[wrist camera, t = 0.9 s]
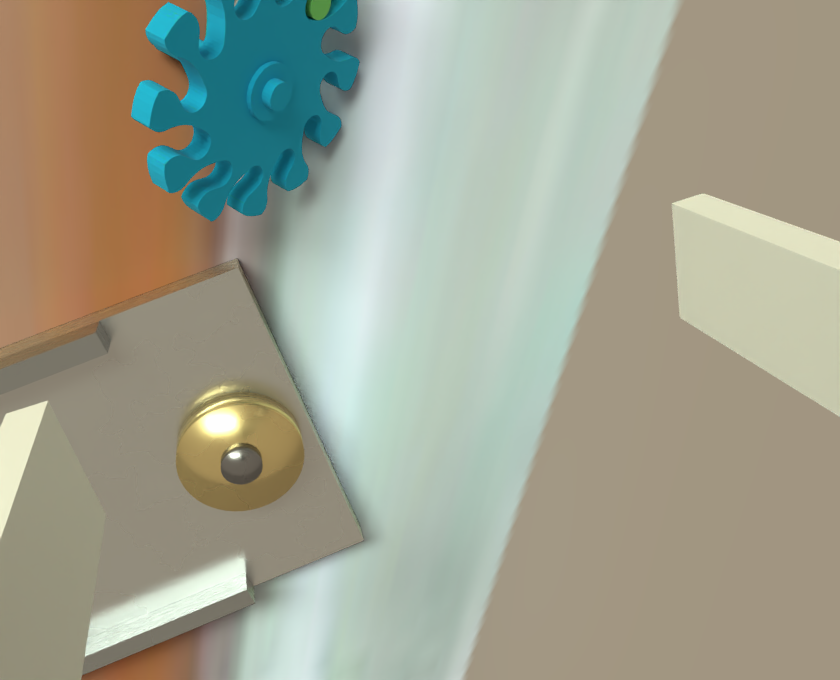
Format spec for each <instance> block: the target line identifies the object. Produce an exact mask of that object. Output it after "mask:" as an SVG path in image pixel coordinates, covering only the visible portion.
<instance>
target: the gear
mask: <svg viewBox="0 0 840 680" xmlns="http://www.w3.org/2000/svg"><path fill="white" fill-rule="evenodd" d="M234 1H235V0H205V2H206V9H207V26H206V36H205V39H204V41H202V40H200V39H199V34H200V29H199V23H198V21H197V19H196V17H195V16H194V15H193V14H192V13H190V12H188V11H186V10H184V9H182V8H180V7H178V6H176V5H174V4H171V3H169V2H168V3H167V4H165V5H164V6H162V8H161V9H160V10H159V11H158V12H157V13H156V14H155V16H154V17H153V18H152V20H151V22H150V23H149V25H148V26H147V28H146V30H145V31H146V36H147V38H148V40H149V41H150V42H151V43H152V44H153V45H154V46H155V47H156V48H157V49H158V50H160V51H162V52H163V53H165V54H167V55H169V56H171V57H173V58H175V59H177V60H179V61H180V62H181V64H182V66H183V68H184V70H185V72H186V74H187V77H188V79H189V89H188V92H187V94H186V96H185V97H184V99H182V100H181V101H180V100H179V98H178V97H177V95H176V94H175V93H174V92H172V91H170V90H168V89H167V88H165V87H163V86H161V85H159V84H158V83H156V82H154V81H151V80H145V81H142V82H140V84H139V86H138V88H137V91H136V94H135V97H134V101H133V107H132V114H131V117H132V118H133V119H134V120H136V121H138V122H139V123H141V124H143V125H145V126H146V127H148V128H150V129H152V130H154V131H156V132H163V131H166V130H168V129H170V128H172V127H175V126H179V125H192V126H193V128H194V135H193V139H192V141H191V143H190V144H189V145H188V146H187V147H186V148H184V149H182V150H175V149H173V148H170V147H168V146H165V145H161V146H157V147H155V148H154V149H152V150H151V151H150V152H149V153H148V157H147V164H148V170H149V174H150V176H151V179H152V182H153V183H154V184H156V185H158V186H159V187H161V188H162V189H164V190H166V191H167V192H169V193H174V192H178V191H179V190H181V189H182V188H183V187H184V186H185V185H186V184H187V183H188V181H189V180H190V179H191V178H192V177H193V176H194V175H195V174H196V173H197V172H198V171H200V170H201V169H202V168H204V167H206V166H208V165H210V164H213V163H215V162H216V165H215V168H214V170H213V171H212V173H211V174H210V175H208V176H207V177H205V178H202V179H198V180H195V181H193V182H191V183H190V184H189V185H188V186H187V187H186V188H185V190H184V192H183V194H182V196H181V197H182V199H183V202H184V203H185V204H186V205H187V206H188V207H189V208H191V209H192V210H194V211H195V212H197V213H199V214H200V215H202V216H204V217H205V218H207V219H208V220H210V221H214V220H215V219H216V218H217V217H218V216H219V215H220V214H221V212H222V210H223V208H224V205H225V202H226V199H227V205H228V206H230V207H232V208H233V209H235V210H237V211H238V212H240V213H242V214H244V215H246V216H256V215H261V214H262V213H263V212H264V210H265V208H266V205H267V187H268V182H269V178H270V175H271V180H272V182H273V183H274V184H276V185H278V186H280V187H281V188H283V189H285V190H287V191H290V190H293V189H295V188H297V187H298V186H300V185H301V184H302V183H303V182H305V181H306V180H307V178H308V173H309V171H308V166H307V164H306V163H305V161H304V159H303V154H302V138H303V131H304V132H305V135H306V137H307V138H309V139H311V140H313V141H314V142H316V143H318V144H320V145H322V146H324V147H326V146H327V145H328V144H329V143H330V142H331V141H332V140H333V138H334V137H335V135H336V134H337V132H338V131H339V129H340V128H341V120H340V118H339V117H338V116H336V115H334V114H332V113H330V112H328V111H327V110H326V109H325V107H324V105H323V102H322V99H321V95H320V84H321V81H322V79H323V78H324V80H325V81H326V82H327V83H329V84H331V85H334V86H336V87H338V88H340V89H342V90H344V91H347V90H349V89H350V88H351V86H352V84H353V82H354V80H355V77H356V74H357V71H358V67H359V63H360V62H359V60H358V59H357V58H355V57H353V56H351V55H349V54H347V53H345V52H343V51H340V50H335V51H333V52H331V53H327V54H324V53H323V52H322V50H321V41H322V37H323V35H324V33H325V32H326V30H327V29H328V28H332V29H335V30H337V31H339V32H341V33H343V34H349V33H351V32H352V31H353V30H354V29H355V28H356V23H357V15H358V7H357V0H236V2H235V4H234ZM244 174H245V175H244ZM243 175H244V176H243ZM242 176H243V177H242ZM241 177H242V179H241V180H240V181H239V182H237V181H238V180H239V179H240V178H241ZM236 182H237V183H236ZM227 197H228V198H227Z"/></svg>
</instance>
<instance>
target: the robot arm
mask: <svg viewBox="0 0 840 680" xmlns="http://www.w3.org/2000/svg"><path fill="white" fill-rule="evenodd" d="M672 214H673V228H674V241H675V256H676V270H677V284H678V298H679V311H680V318H682V319H683V320H685V321H686V322H688V323H689V324H691V325H693V326H694V327H696V328H697V329H699V330H701V331H702V332H704V333H706V334H707V335H709V336H710V337H712V338H714V339H715V340H717V341H719V342H720V343H722V344H723V345H725V346H726V347H728V348H730V349H732V350H733V351H734V352H736V353H738V354H739V355H741V356H743V357H744V358H746V359H747V360H749V361H751V362H752V363H754V364H756V365H757V366H759V367H760V368H762V369H764V370H765V371H767V372H768V373H770V374H772V375H773V376H775V377H776V378H778V379H780V380H781V381H783V382H784V383H786V384H788V385H789V386H791V387H793V388H794V389H796V390H797V391H799V392H801V393H802V394H804V395H805V396H807V397H809V398H810V399H812V400H814V401H815V402H817V403H818V404H820V405H821V406H823V407H825V408H826V409H828V410H830V411H831V412H833V413H834V414H836V415H838V416H839V417H840V242H839V241H836V240H833V239H831V238H828V237H825V236H822V235H819V234H817V233H814V232H811V231H808V230H805V229H802V228H799V227H797V226H794V225H791V224H788V223H786V222H783V221H780V220H777V219H774V218H771V217H769V216H766V215H763V214H760V213H757V212H754V211H752V210H749V209H746V208H743V207H740V206H738V205H735V204H732V203H729V202H726V201H723V200H721V199H718V198H715V197H712V196H709V195H706V194H704V193H703V194H700V195H697V196H693V197H690V198H687V199H684V200H681V201H678V202H675V203H672ZM105 518H106V513H105V511H104V509H103V507H102V506H101V504H100V502H99V500H98V498H97V496H96V494H95V492H94V490H93V488H92V486H91V484H90V482H89V480H88V478H87V476H86V474H85V472H84V470H83V468H82V466H81V464H80V462H79V460H78V458H77V456H76V454H75V453H74V451H73V449H72V447H71V445H70V443H69V441H68V439H67V437H66V435H65V433H64V431H63V429H62V427H61V425H60V423H59V421H58V419H57V417H56V415H55V413H54V411H53V409H52V407H51V405H50V403H49V401H45V402H42V403H38V404H35V405H32V406H29V407H26V408H23V409H19V410H16V411H13V412H10V413H7V414H6V415H5V417H4V419H3V422H2V424H1V426H0V680H81V678H82V671H83V664H84V658H85V651H86V644H87V638H88V631H89V624H90V618H91V611H92V605H93V598H94V591H95V585H96V578H97V571H98V565H99V558H100V551H101V545H102V538H103V531H104V525H105Z"/></svg>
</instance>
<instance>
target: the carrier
mask: <svg viewBox="0 0 840 680" xmlns="http://www.w3.org/2000/svg"><path fill="white" fill-rule="evenodd" d="M45 401H49V403H50V405H51V407H52V409H53V411H54V413H55V415H56V417H57V419H58V421H59V423H60V425H61V427H62V429H63V431H64V433H65V435H66V437H67V439H68V441H69V443H70V445H71V447H72V449H73V451H74V453H75V454H76V456H77V458H78V460H79V462H80V464H81V466H82V468H83V470H84V472H85V474H86V476H87V478H88V480H89V482H90V484H91V486H92V488H93V490H94V492H95V494H96V496H97V498H98V500H99V502H100V504H101V506H102V507H103V509H104V511H105V513H106V518H105V525H104V531H103V538H102V545H101V551H100V558H99V565H98V571H97V578H96V585H95V591H94V598H93V605H92V611H91V618H90V624H89V631H88V638H87V644H86V651H85V658H84V664H83V671H82V675H84V674H86V673H89V672H91V671H94V670H96V669H98V668H101V667H103V666H106V665H108V664H110V663H113V662H115V661H118V660H120V659H122V658H125V657H127V656H130V655H132V654H134V653H137V652H139V651H142V650H144V649H146V648H149V647H151V646H154V645H156V644H158V643H161V642H163V641H166V640H168V639H170V638H173V637H175V636H178V635H180V634H182V633H185V632H187V631H190V630H192V629H194V628H197V627H199V626H202V625H204V624H206V623H209V622H211V621H214V620H216V619H218V618H221V617H223V616H226V615H228V614H230V613H233V612H235V611H238V610H240V609H242V608H245V607H247V606H250V605H252V604H254V603H255V599H254V586H256V585H258V584H260V583H263V582H265V581H268V580H270V579H272V578H275V577H277V576H280V575H282V574H284V573H287V572H289V571H292V570H294V569H297V568H299V567H301V566H304V565H306V564H309V563H311V562H313V561H316V560H318V559H321V558H323V557H325V556H328V555H330V554H333V553H335V552H337V551H340V550H342V549H345V548H347V547H350V546H352V545H354V544H357V543H359V542H362V541H364V539H363V535H362V532H361V528H360V525H359V523H358V520H357V518H356V516H355V514H354V512H353V509H352V507H351V505H350V503H349V501H348V499H347V496H346V494H345V492H344V490H343V488H342V486H341V483H340V481H339V479H338V477H337V475H336V472H335V470H334V468H333V466H332V464H331V462H330V459H329V457H328V455H327V453H326V451H325V448H324V446H323V444H322V442H321V440H320V438H319V435H318V433H317V431H316V429H315V427H314V424H313V422H312V420H311V418H310V416H309V414H308V411H307V409H306V407H305V405H304V403H303V400H302V398H301V396H300V394H299V392H298V390H297V387H296V385H295V383H294V381H293V379H292V376H291V374H290V372H289V370H288V368H287V366H286V363H285V361H284V359H283V357H282V355H281V352H280V350H279V348H278V346H277V344H276V342H275V339H274V337H273V335H272V333H271V331H270V328H269V326H268V324H267V322H266V320H265V318H264V315H263V313H262V311H261V309H260V307H259V304H258V302H257V300H256V298H255V296H254V294H253V291H252V289H251V287H250V285H249V283H248V280H247V278H246V276H245V274H244V272H243V270H242V267H241V265H240V263H239V261H238V259H234V260H232V261H229V262H226V263H224V264H221V265H218V266H216V267H213V268H211V269H208V270H205V271H203V272H200V273H197V274H195V275H192V276H190V277H187V278H184V279H182V280H179V281H176V282H174V283H171V284H169V285H166V286H163V287H161V288H158V289H155V290H153V291H150V292H148V293H145V294H142V295H140V296H137V297H134V298H132V299H129V300H126V301H124V302H121V303H119V304H116V305H113V306H111V307H108V308H105V309H103V310H100V311H98V312H95V313H92V314H90V315H87V316H84V317H82V318H79V319H77V320H74V321H71V322H69V323H66V324H63V325H61V326H58V327H56V328H53V329H50V330H48V331H45V332H42V333H40V334H37V335H35V336H32V337H29V338H27V339H24V340H21V341H19V342H16V343H14V344H11V345H8V346H6V347H3V348H0V426H1V424H2V422H3V419H4V417H5V415H6V414H7V413H10V412H13V411H16V410H19V409H23V408H26V407H29V406H32V405H35V404H38V403H42V402H45Z"/></svg>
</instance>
